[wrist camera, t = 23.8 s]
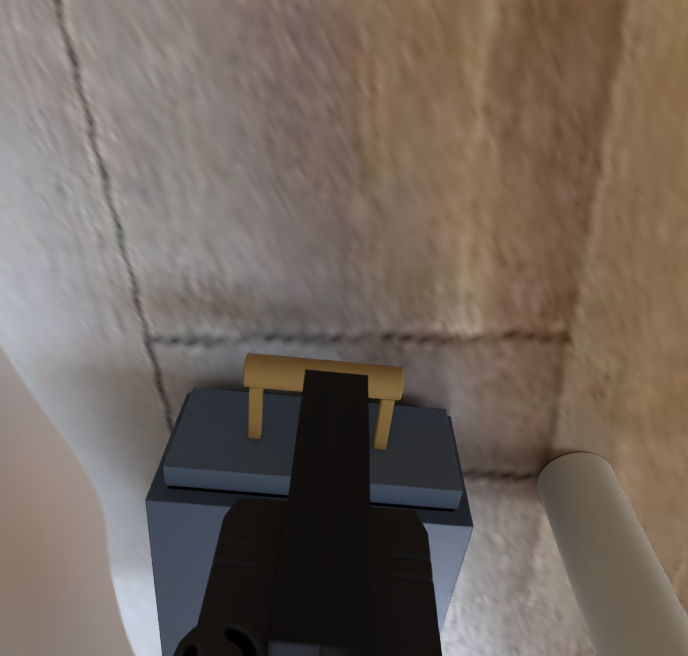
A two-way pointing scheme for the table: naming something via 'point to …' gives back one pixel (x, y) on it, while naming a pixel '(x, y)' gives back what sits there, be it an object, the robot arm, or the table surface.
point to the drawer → (281, 428)
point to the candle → (610, 561)
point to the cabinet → (203, 532)
